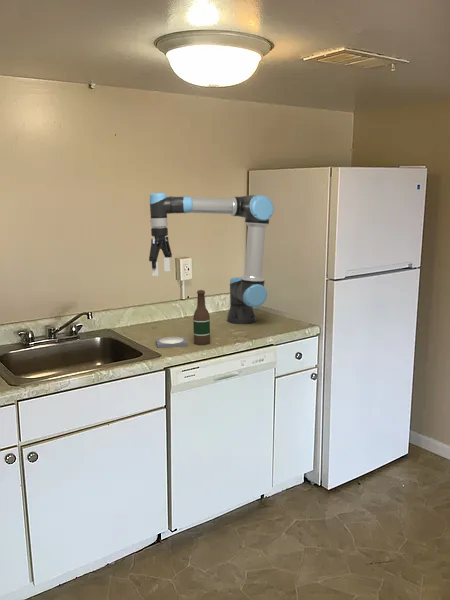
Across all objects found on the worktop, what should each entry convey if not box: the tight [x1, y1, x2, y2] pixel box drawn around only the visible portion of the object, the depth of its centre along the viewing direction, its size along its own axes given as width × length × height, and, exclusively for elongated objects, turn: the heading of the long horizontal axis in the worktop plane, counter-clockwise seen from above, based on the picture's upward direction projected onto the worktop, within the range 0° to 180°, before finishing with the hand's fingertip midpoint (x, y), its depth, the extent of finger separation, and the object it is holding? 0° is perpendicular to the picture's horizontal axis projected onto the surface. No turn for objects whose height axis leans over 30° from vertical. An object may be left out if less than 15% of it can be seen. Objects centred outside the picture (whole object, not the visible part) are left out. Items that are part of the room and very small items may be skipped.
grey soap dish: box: [155, 336, 188, 349], centre depth 249 cm, size 13×11×2 cm
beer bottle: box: [193, 289, 211, 346], centre depth 247 cm, size 8×8×24 cm
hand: (161, 273), depth 257 cm, fingers open, 13 cm apart
